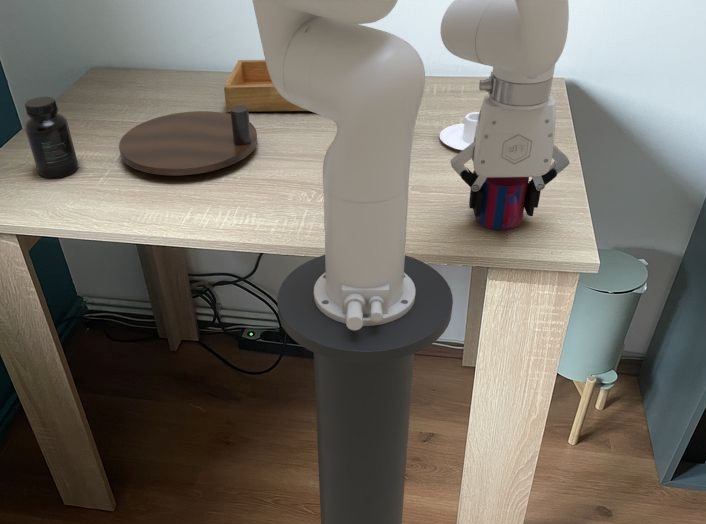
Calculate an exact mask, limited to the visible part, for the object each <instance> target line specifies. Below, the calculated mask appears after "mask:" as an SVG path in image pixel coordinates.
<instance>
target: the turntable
mask: <svg viewBox="0 0 706 524" xmlns="http://www.w3.org/2000/svg"><path fill="white" fill-rule="evenodd" d="M249 113H250V111H248V107H246V106H241V105H240V106H234V107H232V108H231V109H230V112H229V113H228V112H227V113H226V112H222V111H221V112H220V111H211V110H210V111H207V110H203V111H202V110H196V111H183V112H176V113H171V114H165V115H161V116H158V117H154V118H152V119H149V120H146V121H143V122H141V123H139V124H137V125H135V126H134V127H132V128H131V129H129V130H128V131H127V132H126V133H125V134H124V135H122V137H121V139H120V141H119V143H118V149H119V150H118V151H119V153H120V158H121V159H122V161H123V162H124V163H125V164H126V165H128V166H129V167H131V168H133V169H134V170H136V171H140V172H144V173H147V174H152V175H159V176H160V175H161V176H189V175H191V176H192V175H198V174H199V175H200V174H204V173H210V172H214V171H217V170H221V169H224V168H227V167H229V166H232V165H234V164H236V163H239V162H240V161H242V160H244V159H245V158H247V157H248V156H250V154H251V153H252V152H253V151H254V150H255V148H256V147H257V144H258V132H257V129H256V127H255V125H253V123H251V122H250V114H249Z"/></svg>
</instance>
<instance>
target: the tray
mask: <svg viewBox="0 0 706 524" xmlns="http://www.w3.org/2000/svg"><path fill="white" fill-rule="evenodd" d="M223 92H224V99H225V107H226V112H227V113H230V109H231V108H232V107H234V106H240V105H241V106H246V107H248V112H310V111H309V110H306V109H304V108H301V107H299V106H297V105H295V104H293V103H291V102H289V101H287V100H286V99H284V98H283V97H282V96H281V95H280V94H279V93H278V91H277V90H276V88H275V87H274V85H273V83H272V80H271V78H270V75H269V72H268V69H267V65H266V61H265V59H239V60H237V62H236V63H235V65H234V68H233V70H232V71H231V72H230V75H229V77H228V79H227V81H226V82H225V85H224V86H223Z"/></svg>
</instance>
